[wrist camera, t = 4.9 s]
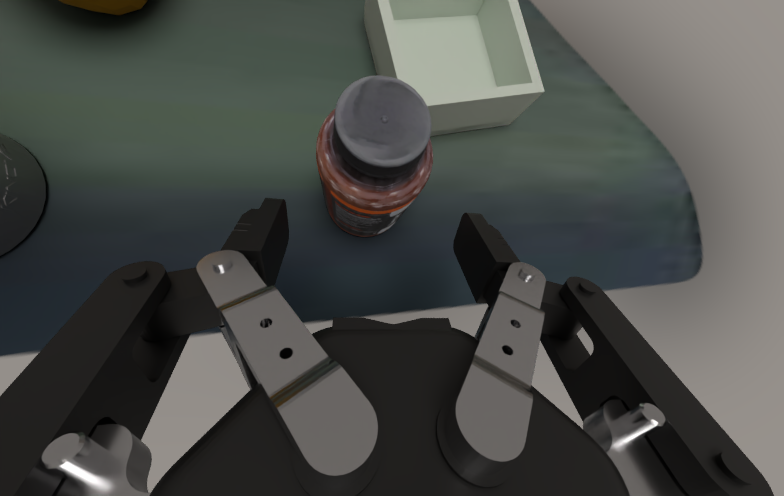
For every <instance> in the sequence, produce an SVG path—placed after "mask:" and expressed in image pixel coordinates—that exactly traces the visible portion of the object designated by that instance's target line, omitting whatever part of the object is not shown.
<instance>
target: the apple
mask: <svg viewBox="0 0 784 496" xmlns="http://www.w3.org/2000/svg"><path fill="white" fill-rule="evenodd" d="M58 1H60V2H62V3H64V4H68V5H72V6H75V7H79V8H83V9H87V10H91V11H95V12H102V13H108V14H114V15H122V14H125V13H128V12H132V11H135V10H138V9H141V8H142V7H143V6H144V4H145V3H146V2H147V1H148V0H58Z"/></svg>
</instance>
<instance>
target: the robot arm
mask: <svg viewBox="0 0 784 496" xmlns="http://www.w3.org/2000/svg"><path fill="white" fill-rule="evenodd" d="M45 199H46V183H45V180H44V176H43V173H42V170H41V168H40V166H39V165H38V163H37V161H36V160H35V158H34V157H33V156H32V155H31V154H30V153H29V152H28V151H27V150H26V149H25V148H24V147H23V146H22V145H20V144H19V143H17V142H15V141H14V140H12V139H11V138H9V137H7V136H4V135H2V134H0V256H1V255H3V254H4V253H6V252H8V251H10V250H11V249H12V248H14V247H15V246H16V245H17V244H19V243H20V242H21V241H22V240H24V239H25V237H26V236H27V235H28V234H29V233H30V231H31V230H32V229H33V228H34V227H35V225H36V223H37V221H38V219H39V217H40V216H41V214H42V211H43V207H44V203H45ZM288 239H289V228H288V218H287V209H286V202H285V200H284V199H272V198H265V199H264V201H263V203H262V205H261V207H260V209H251V210H249V211H248V212H246V213H245V214H243V215H242V216H241V218H240V220H239V221H238V224H237V225H236V226H235V228H234V231H232V233H231V234H230V236H229V238H228V239H227V241H226V243H225V244H224V246H223V247H222V249H221V251H217V252H214V253H211V254H209V255H207V256H205V257H204V258H202V259H201V260H200V261H199V262H198V264H197V267H196V268H191V269H186V270H180V271H174V272H168V273H167V272H166V270H165V268H164V266H163V265H162V264H160V263H157V262H151V261H144V262H137V263H133V264H129V265H126V266H124V267H122V268H120V269H118V270H116V271H114V272H113V273H112V274H110V275H109V276H108V277H107V278H106V279H105V280H104V282H103V283H102V284H101V285H100V286H99V287H98V288H97V289H96V290H95V292H94V293H93V294H92V295H91V296H90V297H89V298H88V299H87V300H86V302H85V303H84V304H83V305H82V306H81V307H80V308H79V309H78V310H77V312H76V313H75V314H74V315H73V316H72V317H71V318H70V319H69V320H68V322H67V323H66V324H65V325H64V326H63V327H62V328H61V329H60V330H59V332H58V333H57V334H56V335H55V336H54V337H53V338H52V339H51V340H50V342H49V343H48V344H47V345H46V346H45V347H44V348H43V349H42V350H41V352H40V353H39V354H38V355H37V356H36V357H35V358H34V359H33V361H32V362H31V363H30V364H29V365H28V366H27V367H26V368H25V369H24V371H23V372H22V373H21V374H20V375H19V376H18V377H17V378H16V379H15V380H14V382H13V383H12V384H11V385H10V386H9V387H8V388H7V389H6V391H5V392H4V393H3V394H2V395H1V396H0V496H774V495H773V492H772V490H771V488H770V486H769V484H768V483H767V481H766V480H765V478H764V477H763V475H762V474H761V473H760V472H759V470H758V469H757V468H756V467H755V466H754V465H753V463H752V462H751V461H750V460H749V459H748V458H747V457H746V455H745V454H744V453H743V452H742V451H741V450H740V448H739V447H738V446H737V445H736V444H735V443H734V442H733V440H732V439H731V438H730V437H729V436H728V435H727V434H726V432H725V431H724V430H723V429H722V428H721V427H720V425H719V424H718V423H717V422H716V421H715V420H714V419H713V417H712V416H711V415H710V414H709V413H708V412H707V411H706V409H705V408H704V407H703V406H702V405H701V404H700V402H699V401H698V400H697V399H696V398H695V397H694V395H693V394H692V393H691V392H690V391H689V390H688V388H687V387H686V386H685V385H684V384H683V383H682V382H681V380H680V379H679V378H678V377H677V376H676V375H675V374H674V372H672V370H671V369H670V368H669V367H668V365H667V364H666V363H665V362H664V361H663V360H662V359H661V357H660V356H659V355H658V354H657V353H656V352H655V350H654V349H653V348H652V347H651V346H650V345H649V344H648V342H647V341H646V340H645V339H644V338H643V337H642V335H641V334H640V333H639V332H638V331H637V330H636V329H635V327H634V326H633V325H632V324H631V323H630V322H629V321H628V319H627V318H626V317H625V316H624V315H623V314H622V312H621V311H620V310H619V309H618V308H617V307H616V306H615V304H614V303H613V302H612V301H611V300H610V299H609V297H608V296H607V295H606V294H605V293H604V292H603V291H602V290H601V288H599V287H598V286H597V285H595V284H594V283H592V282H590V281H589V280H586V279H584V278H580V277H570V278H568V279H567V281H566V282H565V283H564V285H561V284H557V283H553V282H549V281H546V279H545V277H544V275H543V274H542V273H541V272H540V271H539V270H538V269H536V268H535V267H533V266H531V265H529V264H526V263H521V262H520V261H519V259H518V258H517V256H516V255H515V254H514V252H513V251H512V249H511V248H510V246H508V244H507V242H506V241H505V240H504V238H503V236H502V235H501V234H500V232H499V231H498V230H497V229H495V228H494V227H493V226H491V225H489V224H488V223H487V221H486V220H485V219H484V217H483V216H482V214H476V213H464V214H463V216H462V218H461V221H460V224H459V227H458V230H457V233H456V236H455V239H454V245H453V248H454V253H455V255H456V257H457V260H458V262H459V264H460V266H461V269H462V271H463V273H464V276H465V278H466V280H467V283H468V285H469V287H470V289H471V292H472V294H473V296H474V299H475V301H476V303H487V304H488V308H487V310H486V312H485V314H484V317H483V319H482V321H481V324H480V326H479V328H478V330H477V333H476V335H475V337H473V336H471V335H469V334H467V333H465V332H463V331H461V330H458V329H455V328H451V325H450V322H449V319H448V318H420V319H416V320H412V321H407V322H403V323H399V324H388V323H384V322H379V321H375V320H371V319H366V318H333V326H332V327H330V328H325V329H323V330H320V331H318V332H315V333H313V334H311V333H310V332H309V331H308V329H307V328H306V327H305V325H304V324H303V323H302V321H301V320H300V319H299V317H298V316H297V315H296V314H295V312H294V311H293V310H292V308H291V307H290V306H289V304H288V303H287V302H286V300H285V299H284V298H283V297H282V295H281V294H280V293H279V291H278V290H277V289H276V288H275V287H274V285H275V282H276V279H277V276H278V273H279V269H280V266H281V263H282V260H283V257H284V254H285V251H286V248H287V244H288ZM217 326H219V328H220V330H221V332H222V334H223V336H224V338H225V339H226V341H227V343H228V345H229V347H230V349H231V351H232V353H233V355H234V357H235V359H236V360H237V363H238V364H239V367H240V369H241V371H242V373H243V376H244V378H245V380H246V382H247V384H248V386H249V388H250V391H249V392H248V393H247V394H246V395H245V396H244V397H243V398H242V399H241V400H240V401H239V402H238V403H237V404H236V405H235V406H234V407H233V408H231V409H230V410H229V412H227V413H226V414H225V415H224V416H223V417H222V418H221V419H220V420H219V421H218V422H217V423H216V424H215V425H214V426H213V427H212V428H211V429H210V430H209V431H208V432H207V433H206V434H205V435H204V436H203V437H202V438H201V439H200V440H199V441H197V442H196V443H195V444H194V445H193V446H192V447H191V448H190V449H189V450H188V451H187V452H186V453H185V454H184V455H183V456H182V457H181V458H180V459H179V460H178V461H177V462H176V463H175V464H174V465H173V466H172V467H171V468H170V469H169V470H168V471H167V472H166V473H165V475H164V476H163V477H162V478H161V480H160V481H159V482H158V483H157V485H156V486H155V488H154V489H153V491H152V492H151V493H148V490H147V478H148V474H149V470H150V467H151V460H152V458H151V452H150V450H149V448H148V447H147V446H146V445H145V444H144V443H143V442H141V439H142V437H143V434H144V432H145V430H146V428H147V426H148V424H149V422H150V419H151V417H152V415H153V413H154V411H155V409H156V406H157V404H158V402H159V400H160V398H161V396H162V394H163V392H164V389H165V387H166V385H167V383H168V380H169V378H170V377H171V374H172V372H173V370H174V368H175V366H176V363H177V362H178V359H179V357H180V355H181V353H182V351H183V349H184V346H185V344H186V342H187V340H188V338H189V336H190V334H191V333H193V332H197V331H201V330H205V329H209V328H213V327H217ZM582 327H583V328H584V329H585V331H586V332H587V334H588V335H589V337H590V338H591V340H592V342H593V345H594V350H593V353H592V355H591V356H590V354H589V353H588V351H587V350H586V348H585V347H584V345H583V344H582V342H581V341H580V339H579V338H578V336H577V332H578V331H579V330H580V329H581V328H582ZM539 341H541V343H542V344H543V346H544V348H545V350H546V352H547V354H548V356H549V358H550V360H551V361H552V364H553V365H554V367H555V369H556V371H557V373H558V375H559V377H560V379H561V381H562V382H563V384H564V386H565V388H566V390H567V392H568V394H569V396H570V398H571V400H572V402H573V403H574V405H575V407H576V409H577V411H578V413H579V415H580V417H581V419H582V421H583V429H582V428H581V427H580V426H578V425H577V424H576V423H575V422H574V421H572V420H571V419H570V418H569V417H568V416H567V415H565V414H564V413H563V412H562V411H561V410H560V409H558V408H557V407H556V406H555V405H554V404H553V403H551V402H550V401H549V400H548V399H547V398H546V397H544V396H543V395H542V394H541V393H540V392H539V391H537V390H536V389H535V388H534V387H533V386H532V385H531V383H532V377H533V373H534V368H535V362H536V357H537V352H538V347H539Z"/></svg>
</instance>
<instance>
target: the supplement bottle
mask: <svg viewBox="0 0 784 496" xmlns="http://www.w3.org/2000/svg"><path fill="white" fill-rule="evenodd" d="M431 128H432V125H431V117H430V113H429V110H428V107H427V105H426V103H425V101H424V100H423V98H422V97H421V96H420V95H419V94H418V93H417V91H416V90H415V89H414V88H412V87H411V86H410V85H408V84H407V83H405V82H403V81H402V80H399V79H396V78H393V77H388V76H380V75H376V76H368V77H364V78H361V79H359V80H357V81H355V82H353V83H352V84H351V85H350V86H348V87H347V88H346V89H345V90H344V92H343V93H342V94H341V96H340V97H339V99H338V101H337V104H336V108H335V109H334V110H333V111H332V112H331V113H330V114H329V115H328V116H327V118H326V119H325V121H324V123H323V124H322V126H321V129H320V131H319V134H318V138H317V146H316V159H317V165H318V171H319V175H320V179H321V184H322V189H323V194H324V198H325V203H326V206H327V209H328V212H329V214H330V216H331V218H332V219H333V221H334V222H335V223H336V224H337V225H338V226H339V227H340V228H341V229H342V230H344V231H346V232H348V233H350V234H352V235H356V236H361V237H369V236H375V235H378V234H381V233H383V232H385V231H386V230H387V229H389V228H390V227H391V226H392V225H393V224H394V223H395V222H396V221H397V220H398V219H399V217H400V216H401V215H402V214H403V212H404V211H405V210H406V209H407V208H408V207H409V205H410V204H411V203H412V202H413V201H414V199H415V198H416V197H417V196H418V194H419V193H420V192H421V190H422V189H423V187H424V186H425V184H426V182H427V181H428V178H429V176H430V173H431V168H432V164H433V152H432V144H431V140H430V135H431Z"/></svg>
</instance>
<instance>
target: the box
mask: <svg viewBox="0 0 784 496" xmlns="http://www.w3.org/2000/svg"><path fill="white" fill-rule="evenodd" d="M364 25H365V29H366V33H367V37H368V41H369V45H370V49H371V53H372V57H373V61H374V65H375V69H376V73H377V75H380V76H388V77H393V78H396V79H399V80H402V81H403V82H405V83H407V84H408V85H410V86H411V87H412V88H414V89H415V90H416V91H417V93H418V94H419V95H420V96H421V97H422V98H423V100H424V101H425V103H426V105H427V107H428V110H429V113H430V117H431V125H432V128H431V135H430V136H436V135H443V134H450V133H456V132H463V131H470V130H477V129H484V128H491V127H497V126H504V125H510V124H511V123H512V122H513V121H514V120H515V119H516V118H517V117H518V116H519V115H520V114H521V113H522V112H523V111H524V110H525V109H527V108H528V107H529V106H530V105H531V104H532V103H533V102H534V101H535V100H536V99H537V98H538V97H539V96H540V95H541V94H542V93H543V92H544V88H543V85H542V81H541V78H540V75H539V71H538V68H537V65H536V61H535V58H534V54H533V51H532V48H531V44H530V41H529V37H528V34H527V31H526V27H525V24H524V21H523V17H522V14H521V10H520V7H519V4H518V0H365V11H364Z"/></svg>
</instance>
